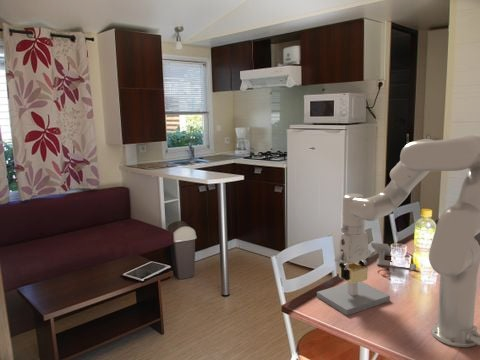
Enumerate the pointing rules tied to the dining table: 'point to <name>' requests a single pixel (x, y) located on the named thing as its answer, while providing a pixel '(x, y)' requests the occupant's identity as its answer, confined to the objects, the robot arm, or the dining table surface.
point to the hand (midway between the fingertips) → (353, 276)
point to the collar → (355, 273)
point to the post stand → (353, 297)
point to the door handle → (385, 254)
